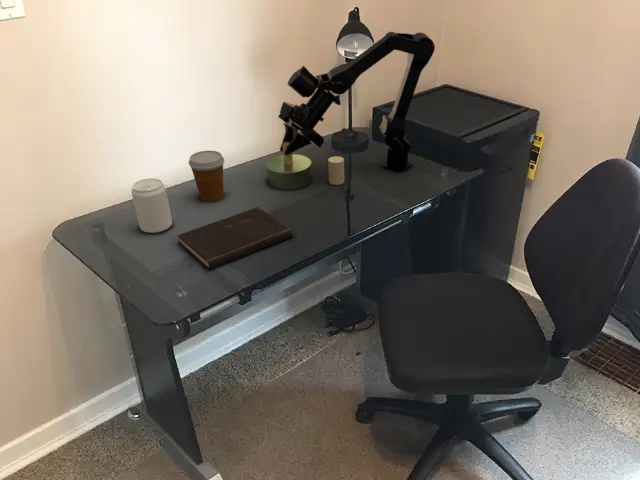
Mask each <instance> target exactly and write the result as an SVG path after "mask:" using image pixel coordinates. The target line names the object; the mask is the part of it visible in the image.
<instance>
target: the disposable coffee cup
mask: <svg viewBox="0 0 640 480" xmlns="http://www.w3.org/2000/svg"><path fill="white" fill-rule="evenodd" d="M224 163H225V158H224V156H223V154H222V153H221V152H220V151H217V150H201V151H197V152H195V153H193V154H191V155H190V156H189V160H188V165H189V167H190V168H191V171H192V175H193V178H194V182H195V185H196V187H197V191H198V195H199V197H200V200H202V201H204V202H216V201H219V200H221V199H222V198H223V197H224Z"/></svg>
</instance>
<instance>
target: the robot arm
mask: <svg viewBox="0 0 640 480" xmlns="http://www.w3.org/2000/svg"><path fill="white" fill-rule="evenodd" d="M435 48H436V45H435V43H434V41H433V40H432V39H431V38H430V37H429V36H428V35H427V34H425V33H424V32H416V33H415V34H413V33H404V32H395V31H388V32H387V33H386V34H385V35H384V36H383V37H381V38H380V39H378V41H376V42H375V43H374V44H372V45H370V47H368V48H367V49H366V50H364V51H363V52H361V53H360V54H359V55H357V56H356V57H355V58H353V59H352V60H351V61H348V62H345V63H342V64H340V65H337V66H336V67H334V68H331V69H330V70H329V71H328V72H326V73H322V74H317V75H315V74H313V73H312V72H311V71H310V70H309V68H307V67H306V66H305V65H302V66H301V68H298V69H297V70H296V71H295V72H294V71H293V73H292V75H291V76H290V77H289V79H288V80H287V81H288V82H287V86H288V87H290V88H291V89H292V90H293V91H294V92H296V93H297V94H298V95H299V96H301V97H302V98H309V99H308V101H306V103H304V102H303V103H301V104H300V105H299V104H293V103H289V102H286V101H283V102H282V104H281V107H280V110H279V115H278V119H280V120H282V121H283V126H284V129H285V130H284V131H285V132H284V135H283V138H282V142H281V144H280V147H279V151H280V152H281V153H283V143H284V142H290V143H289V145H288V147H287V148H286V150H285V152H284V154H286V155H289V154H291V153H292V154H293V153H294V152H297V151H298V150H300V149H303V148H304V147H306V146H309V145H312V143H313V144H314V145H315V146H317V147H318V148H321V147H322V146H323V145H324V143H325V138H324V137H323V136H322V135H321V134H320V133H318V132H317V131H316V130H315V129H314V128H315V127H316V126H317V125H318V123H319V122H323V121H324V120H325V118H324V117H323V116H324V115H325V114H326V112H327V111H328V110H329V108H330V107H331V105H332V104H335V105H338V106H341V99H340V98H341V95H343V94H346V92H348V90H350V88H352V86H354V84H355V83H356V82H357V80H358V78H359V77H360V76H361V75H362V74H364V73H365V72H366V71H368V70H370V68H372V67H374V66H375V65H376V64H377V63H378V62H380V61H382V60H383V59H384V58H386V56H388V55H389V54H391V53H392V52H393V51H400V52H402V53H405V54H406V53H407V56H406V58H407V60H406V61H407V62H406V67H405V70H404V73H403V76H402V78H401V83H400V85H399V89H398V90H397V95H396V97H395V100H394V103H393V106H392V109H391V112H390V113H389V114H388V115H385V114H383V115H382V121H381V124H380V125H379V126H378V127H379V129H380V135H381V138H382V139H383V141H384V142H385V144H386V146H388V148H387V154H386V163H384V164H383V165H382V166H383V168H385V169H389V170H391V171H395V172H397V173H400V172H402V171H405V170H407V169H408V168H410V167H412V163H409V152H410V150H411V148H412V146H411V144H410V143H409V141H408V139H407V137H406V135H405V134H406V118H407V115H408V113H409V109H410V107H411V103H412V100H413V98H414V94H415V92H416V89H417V87H418V82H419V79H420V77H421V74H422V71H423V70H424V69H425V67H426V66H427V65H428V64H429V63H430V61H431V58H432V56H433V55H434V53H435V50H436V49H435Z"/></svg>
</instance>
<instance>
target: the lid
mask: <svg viewBox="0 0 640 480" xmlns="http://www.w3.org/2000/svg"><path fill="white" fill-rule="evenodd" d="M289 143H290V142H284V143H283V152H282V154H280V155H275V156H273V157H271V158H269V159H267V161H266V162H265V168H266V170H267V171H268V170H269V171H271V172H273V173H277V174H296V173H300V172H303V171H306V170H307V169H309V168H310V169H311V167H312V160H311V159H310V158H309V157H307V156H305V155H302V154H293V153H291V154H289V155H286V154H284V152H285V150H286V148H287V147H288V145H289Z"/></svg>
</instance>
